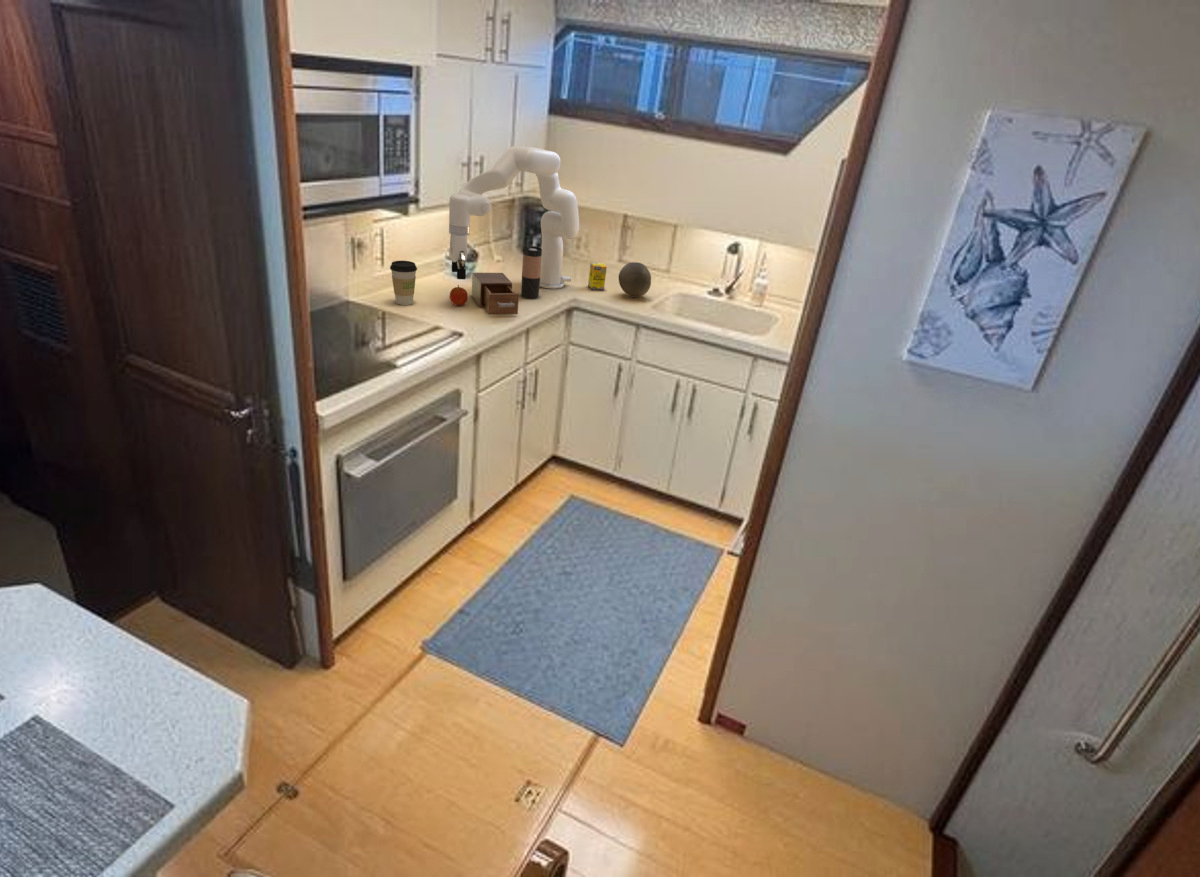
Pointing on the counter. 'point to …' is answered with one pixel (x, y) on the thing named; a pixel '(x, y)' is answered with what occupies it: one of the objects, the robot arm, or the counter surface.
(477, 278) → the cabinet
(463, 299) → the fruit
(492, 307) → the drawer
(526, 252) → the travel mug
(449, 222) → the robot arm
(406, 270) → the coffee cup
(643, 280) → the dark grey ball
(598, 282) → the supplement box
